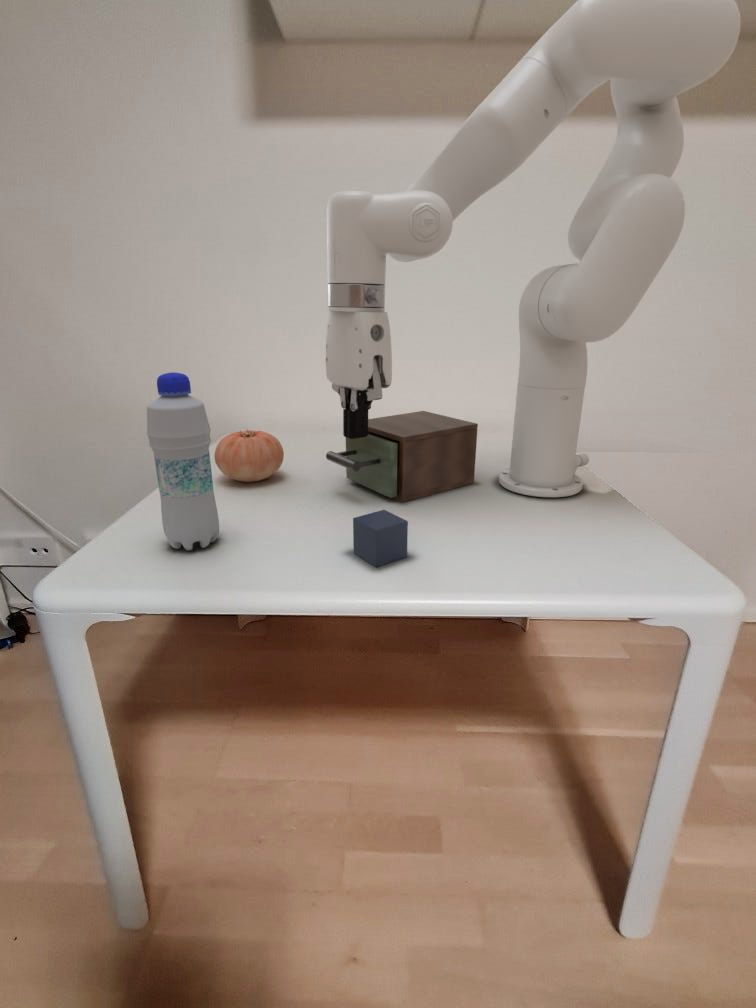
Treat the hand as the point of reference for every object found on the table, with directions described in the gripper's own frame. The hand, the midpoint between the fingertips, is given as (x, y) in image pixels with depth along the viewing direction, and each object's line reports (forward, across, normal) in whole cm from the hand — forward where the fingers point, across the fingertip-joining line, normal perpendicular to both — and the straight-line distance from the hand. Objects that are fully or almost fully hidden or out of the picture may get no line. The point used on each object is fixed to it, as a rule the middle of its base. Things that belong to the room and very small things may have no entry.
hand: (355, 436), depth 78 cm
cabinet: (+9, 0, -11) cm, 14 cm away
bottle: (+10, -2, +25) cm, 27 cm away
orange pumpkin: (+9, +17, +9) cm, 21 cm away
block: (+9, -18, +9) cm, 22 cm away
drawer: (+8, 0, -6) cm, 10 cm away
